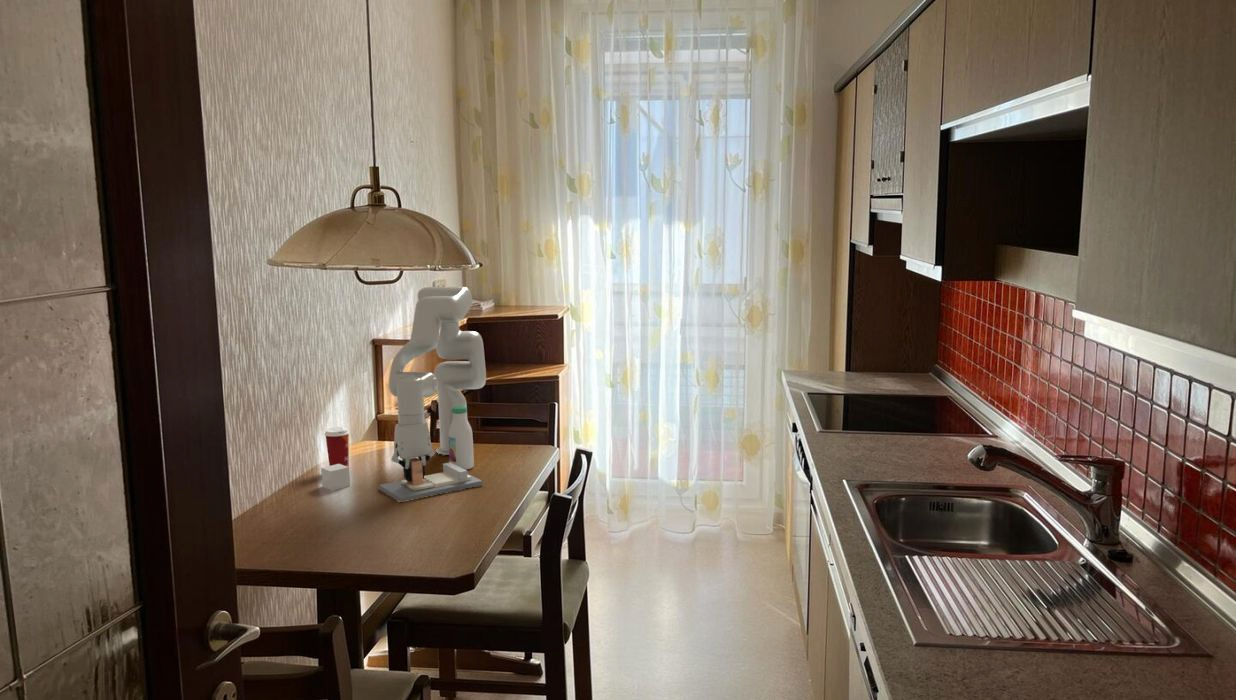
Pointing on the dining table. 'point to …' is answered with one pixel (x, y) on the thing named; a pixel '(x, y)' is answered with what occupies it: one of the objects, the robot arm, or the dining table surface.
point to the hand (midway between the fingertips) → (414, 478)
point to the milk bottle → (461, 439)
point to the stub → (416, 476)
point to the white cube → (335, 477)
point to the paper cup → (338, 445)
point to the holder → (442, 482)
